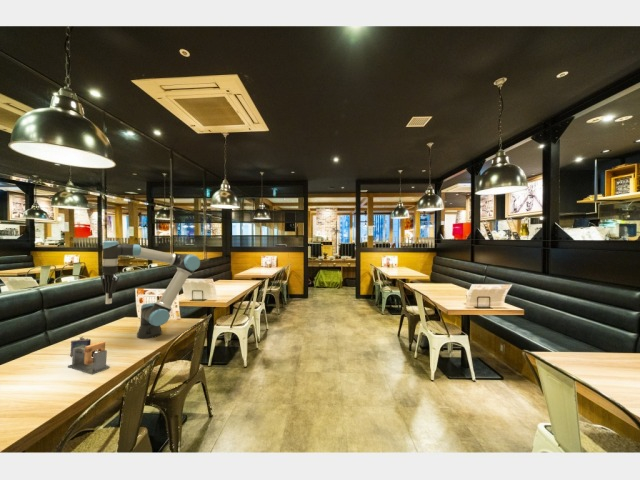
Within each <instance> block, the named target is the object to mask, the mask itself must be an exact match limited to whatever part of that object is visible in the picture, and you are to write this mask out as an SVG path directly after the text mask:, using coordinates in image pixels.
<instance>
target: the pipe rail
mask: <svg viewBox="0 0 640 480" xmlns="http://www.w3.org/2000/svg"><path fill="white" fill-rule="evenodd" d="M85 346H86V345H82V346H79V347H76V348H73V356H71V358H72V359H71V364H70V365H68V366H67V368H70V369H72V370H76V371H80V372H82V373H86V374H89V375H95V374H97V373H100V372H102V371H105V370H107V369H110V368H111V366H109V365H107V356H108V355H107V354H108V353H107V352H108V350H107V349H105V350H103V351H98V350H95V351H92V358H93V363H91V364H89V365H85V364H84V359H85Z"/></svg>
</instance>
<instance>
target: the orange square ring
mask: <svg viewBox="0 0 640 480" xmlns="http://www.w3.org/2000/svg"><path fill="white" fill-rule="evenodd" d="M95 350H97V351H103V350H106V341H99V342H95V343H92V344H90V345H89V346H85V359H84V364H85V365H89V364H91V363H93V357H92V351H95Z"/></svg>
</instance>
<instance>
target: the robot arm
mask: <svg viewBox="0 0 640 480" xmlns="http://www.w3.org/2000/svg"><path fill="white" fill-rule="evenodd" d="M124 256H125V257H134V258H139V259H143V260H149V261H155V262H160V263H164V264H169V265H170V266H172V267H176V272H175V274H174V276H173V278H172V279H171V280H170V282H169V284H168V286H166V289H165V290H164V292H163V293H162V295H161V297H160V298H159V300H158V301H156V302H149V303H144V304H142V305H141V308H140V323H139V324H140V325H139V328H138V330H137V333H136V337H137V338H138V339H151V338H152V337H153V338H156V337H158V335H159V336H161V335H162V334H161V333H162V332H163V331H162V328H161V326H163V325H164V324H166V323H168V320H169V319H170V314H171V311H172V305H173V303H174V302H175V300H176V298H177V296H178V294H179V292H180V291H181V290H182V288H183V286H184V284H185V283H186V281H187V279H188V277H189V276H192V275H193V274H194V272H195V271H196V270H197V269H199V268H200V266H201V259H200V257H198V256H197V255H195V254H189V253H188V254H187V253H176V252H173V253H171V252H170V253H169V252H164V251H161V250H155V249H150V248H145V247H141V245H140V244H136V243H132V244H130V243H129V244H128V243H119V241H118V240H104V241H103V244H102V266H101V272H102V273H103V275H101V276H100V280H101V289H102V292H103V293H105V305H110V304H112V303H113V293H116V290H117V284H118V281H119V279H120V278H119V276H117V274H116V272H118V270H119V269H118V264H119V257H124ZM160 334H161V335H160ZM155 336H156V337H155Z"/></svg>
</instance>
